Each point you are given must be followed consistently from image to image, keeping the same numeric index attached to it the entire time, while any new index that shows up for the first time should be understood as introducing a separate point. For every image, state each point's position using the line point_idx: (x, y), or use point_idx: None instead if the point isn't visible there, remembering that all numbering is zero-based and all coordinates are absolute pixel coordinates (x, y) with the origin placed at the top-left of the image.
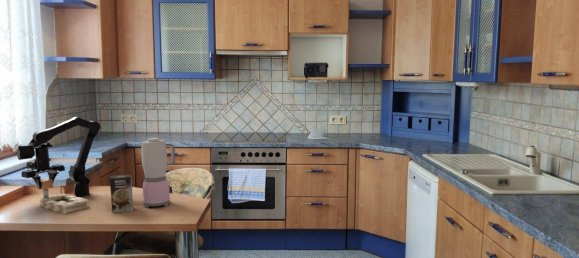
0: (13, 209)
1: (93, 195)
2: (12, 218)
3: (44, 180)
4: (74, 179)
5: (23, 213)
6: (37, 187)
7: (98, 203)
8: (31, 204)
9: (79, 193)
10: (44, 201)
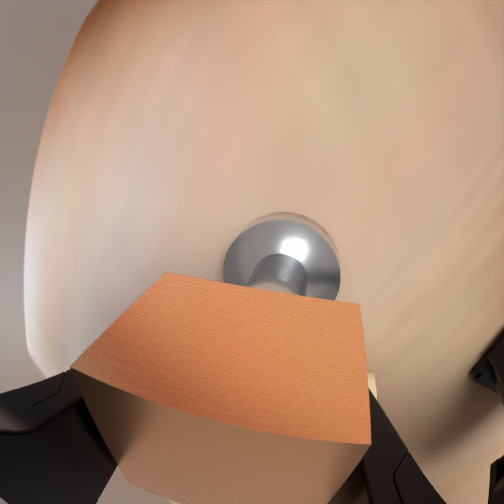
0: (57, 208)
1: (501, 412)
2: (42, 341)
3: (191, 486)
4: (496, 499)
5: (77, 335)
6: (157, 282)
7: None
8: (167, 207)
9: (496, 383)
10: None
